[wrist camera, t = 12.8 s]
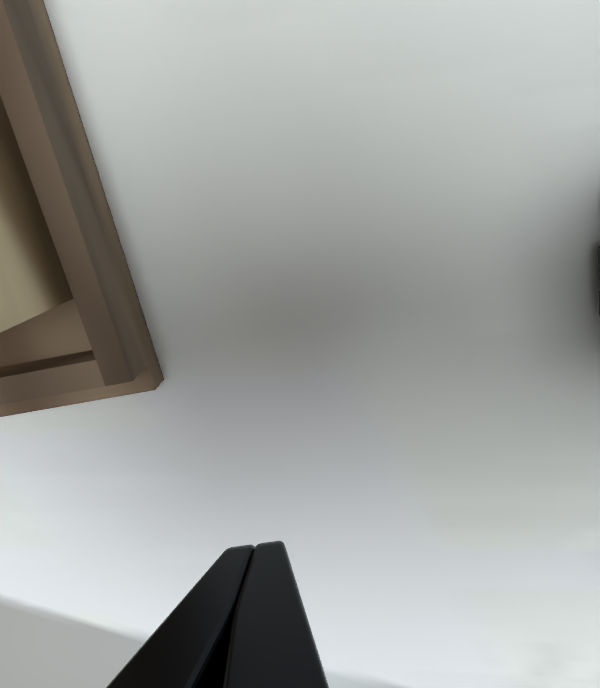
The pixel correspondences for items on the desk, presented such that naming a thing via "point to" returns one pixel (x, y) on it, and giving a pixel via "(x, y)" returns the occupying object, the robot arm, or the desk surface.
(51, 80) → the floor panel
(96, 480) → the desk surface
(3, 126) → the oak plank
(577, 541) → the desk surface
